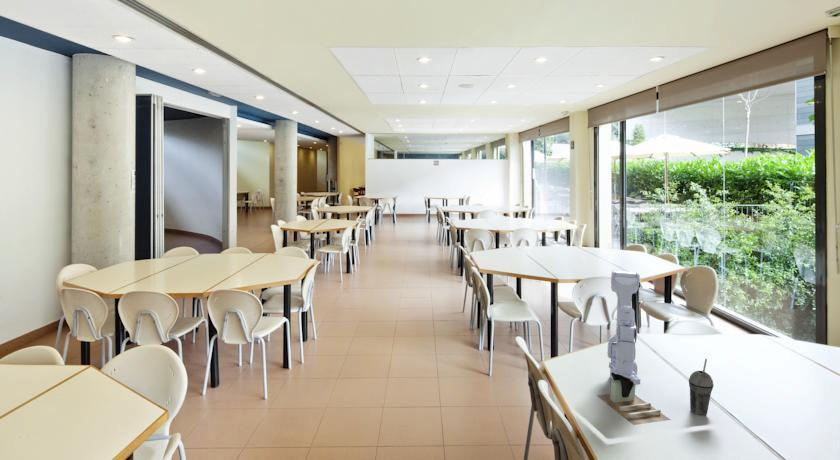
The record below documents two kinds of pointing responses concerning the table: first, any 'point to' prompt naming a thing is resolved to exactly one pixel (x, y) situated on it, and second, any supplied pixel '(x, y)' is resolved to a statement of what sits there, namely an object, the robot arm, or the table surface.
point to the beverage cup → (700, 391)
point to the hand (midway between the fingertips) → (622, 394)
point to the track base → (635, 410)
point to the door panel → (620, 392)
